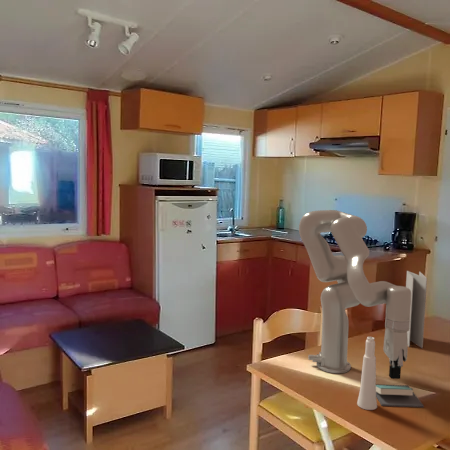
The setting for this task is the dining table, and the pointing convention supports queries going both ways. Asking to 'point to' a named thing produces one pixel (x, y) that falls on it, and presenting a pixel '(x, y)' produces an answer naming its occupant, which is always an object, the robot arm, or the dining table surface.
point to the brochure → (416, 307)
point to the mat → (399, 399)
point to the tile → (394, 390)
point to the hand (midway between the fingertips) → (394, 377)
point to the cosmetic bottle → (368, 378)
